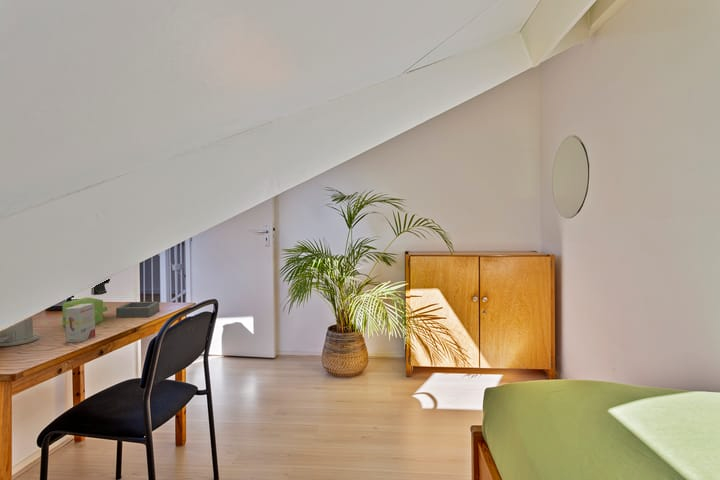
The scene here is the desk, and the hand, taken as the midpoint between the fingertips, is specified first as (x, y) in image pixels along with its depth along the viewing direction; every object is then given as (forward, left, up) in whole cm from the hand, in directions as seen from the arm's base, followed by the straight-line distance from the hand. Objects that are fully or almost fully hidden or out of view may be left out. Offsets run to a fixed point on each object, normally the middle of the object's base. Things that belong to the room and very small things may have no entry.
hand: (100, 282), depth 171 cm
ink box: (-32, -8, -15) cm, 37 cm away
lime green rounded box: (-12, +1, -15) cm, 19 cm away
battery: (0, 0, -5) cm, 5 cm away
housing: (+5, -13, -15) cm, 20 cm away
